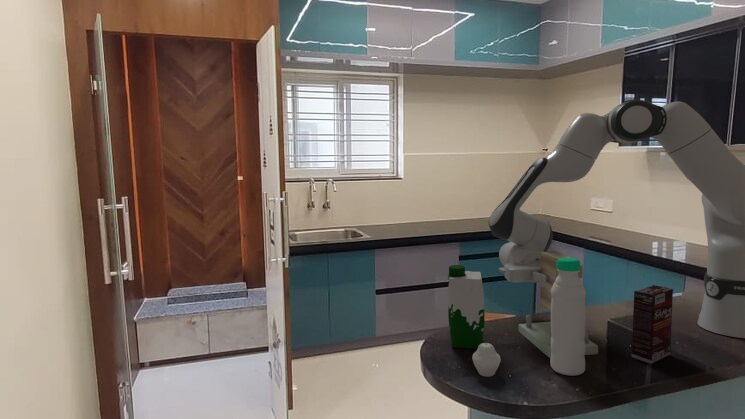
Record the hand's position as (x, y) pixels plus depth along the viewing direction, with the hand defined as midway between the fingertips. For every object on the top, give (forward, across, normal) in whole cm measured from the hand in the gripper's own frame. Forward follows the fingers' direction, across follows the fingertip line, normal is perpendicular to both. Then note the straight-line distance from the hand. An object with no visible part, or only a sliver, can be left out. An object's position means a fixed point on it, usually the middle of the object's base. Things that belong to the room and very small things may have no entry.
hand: (557, 278), depth 113 cm
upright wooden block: (-1, 0, +8) cm, 8 cm away
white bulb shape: (+12, -23, +17) cm, 31 cm away
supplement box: (+11, +17, +17) cm, 26 cm away
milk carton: (-5, -22, +17) cm, 28 cm away
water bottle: (+14, -5, +17) cm, 22 cm away
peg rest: (-1, 0, +17) cm, 17 cm away
